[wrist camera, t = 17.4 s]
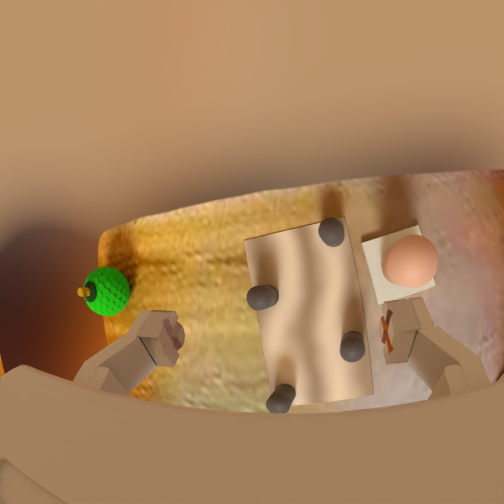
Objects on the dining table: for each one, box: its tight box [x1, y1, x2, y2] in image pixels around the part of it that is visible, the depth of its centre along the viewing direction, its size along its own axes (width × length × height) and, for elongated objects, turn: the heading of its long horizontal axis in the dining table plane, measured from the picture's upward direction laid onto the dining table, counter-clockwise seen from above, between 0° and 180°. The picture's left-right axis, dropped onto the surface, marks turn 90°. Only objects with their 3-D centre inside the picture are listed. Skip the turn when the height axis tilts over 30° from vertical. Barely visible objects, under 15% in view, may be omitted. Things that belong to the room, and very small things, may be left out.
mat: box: [361, 225, 435, 305], centre depth 33 cm, size 8×8×1 cm
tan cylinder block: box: [381, 235, 438, 288], centre depth 28 cm, size 5×5×9 cm
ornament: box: [78, 267, 130, 316], centre depth 43 cm, size 8×8×10 cm
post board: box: [244, 217, 373, 413], centre depth 35 cm, size 14×24×5 cm, turn 11°
